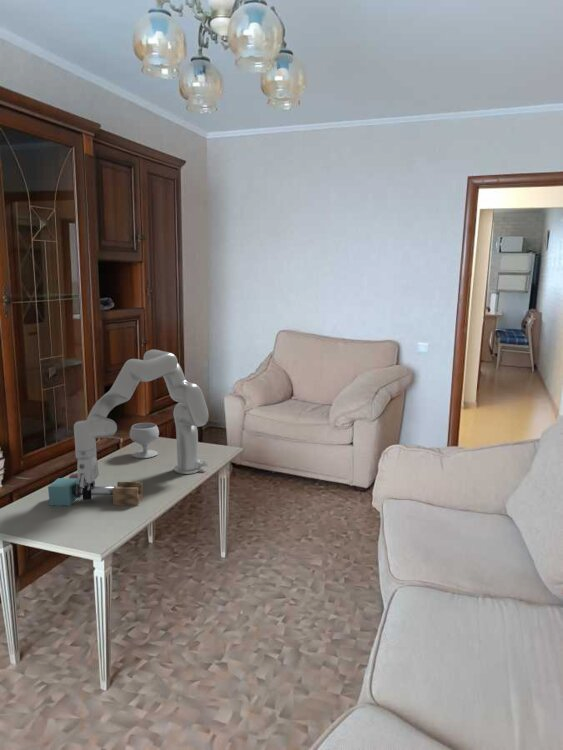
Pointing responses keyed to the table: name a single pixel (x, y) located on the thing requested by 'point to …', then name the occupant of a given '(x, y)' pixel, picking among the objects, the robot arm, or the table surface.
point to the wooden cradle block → (127, 493)
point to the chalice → (144, 438)
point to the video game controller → (75, 476)
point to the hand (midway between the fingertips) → (89, 496)
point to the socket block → (62, 491)
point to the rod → (93, 490)
